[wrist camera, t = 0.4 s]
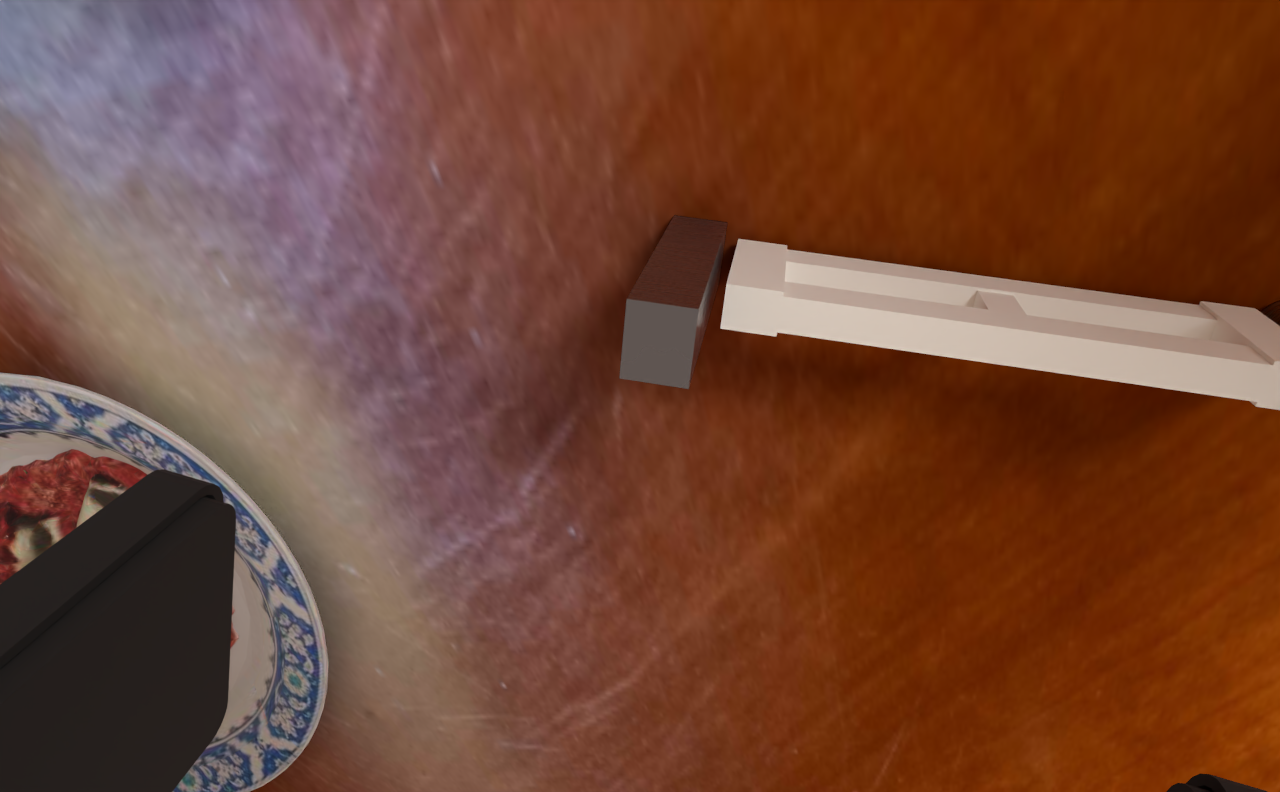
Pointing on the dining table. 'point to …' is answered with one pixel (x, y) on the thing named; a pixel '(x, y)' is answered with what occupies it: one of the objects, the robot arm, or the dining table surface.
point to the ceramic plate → (263, 564)
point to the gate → (1005, 322)
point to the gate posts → (685, 303)
